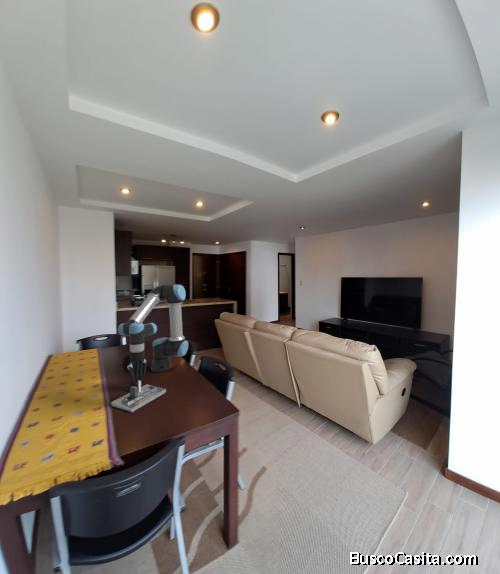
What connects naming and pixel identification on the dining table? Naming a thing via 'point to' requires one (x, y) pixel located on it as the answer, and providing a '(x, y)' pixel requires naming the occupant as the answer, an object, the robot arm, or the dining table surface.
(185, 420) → the dining table surface
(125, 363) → the wine glass
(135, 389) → the fader knob
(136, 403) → the console
